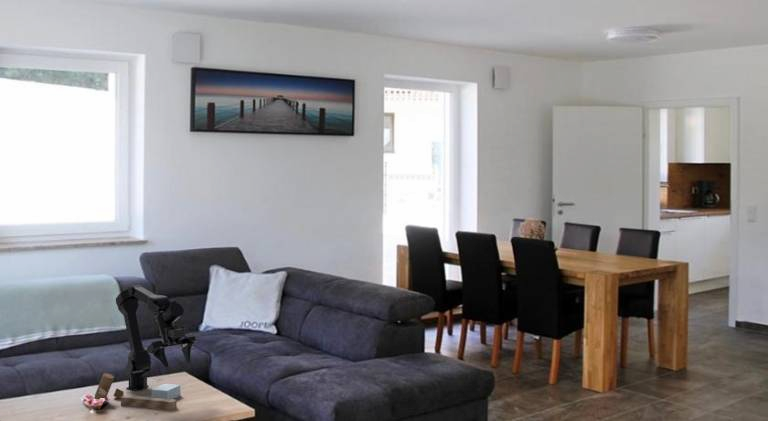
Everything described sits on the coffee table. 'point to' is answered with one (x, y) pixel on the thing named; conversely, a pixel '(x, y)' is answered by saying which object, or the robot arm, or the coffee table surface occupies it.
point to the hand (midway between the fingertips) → (178, 365)
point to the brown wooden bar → (148, 402)
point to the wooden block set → (107, 387)
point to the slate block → (166, 391)
